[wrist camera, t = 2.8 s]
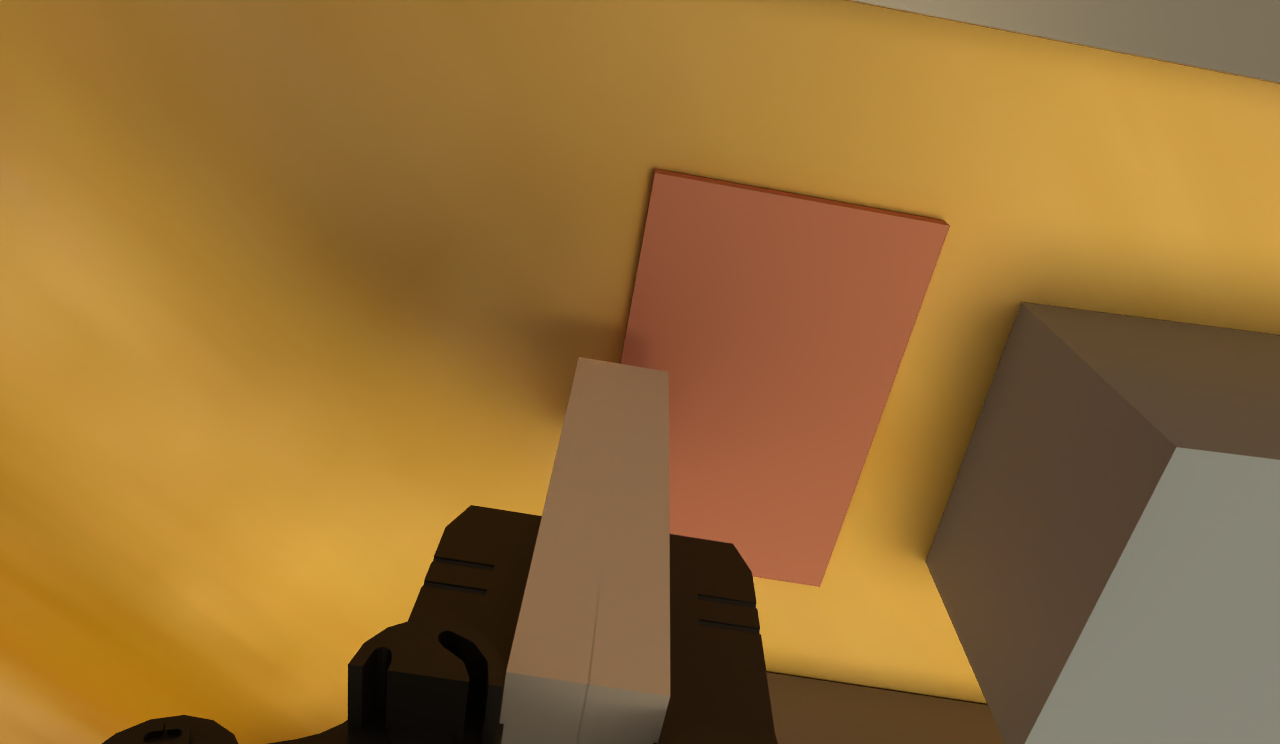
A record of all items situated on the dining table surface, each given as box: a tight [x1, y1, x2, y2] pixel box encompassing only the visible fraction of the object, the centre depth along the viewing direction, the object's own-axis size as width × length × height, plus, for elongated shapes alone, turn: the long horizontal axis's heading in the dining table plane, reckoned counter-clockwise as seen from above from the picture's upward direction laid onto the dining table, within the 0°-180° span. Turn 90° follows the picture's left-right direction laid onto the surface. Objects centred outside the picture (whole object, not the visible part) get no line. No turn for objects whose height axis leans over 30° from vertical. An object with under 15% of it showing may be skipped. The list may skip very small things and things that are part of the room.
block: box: [925, 302, 1280, 744], centre depth 14 cm, size 6×8×5 cm
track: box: [621, 0, 1280, 744], centre depth 14 cm, size 16×20×3 cm
